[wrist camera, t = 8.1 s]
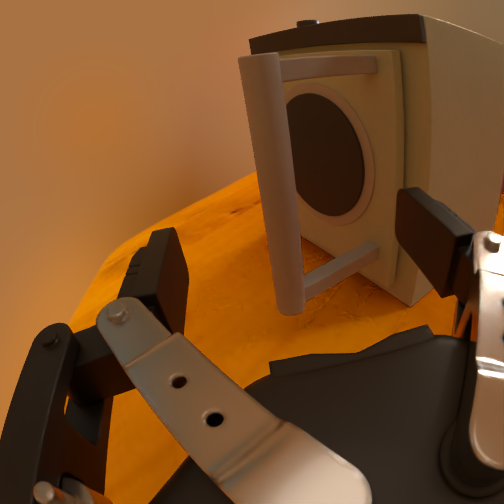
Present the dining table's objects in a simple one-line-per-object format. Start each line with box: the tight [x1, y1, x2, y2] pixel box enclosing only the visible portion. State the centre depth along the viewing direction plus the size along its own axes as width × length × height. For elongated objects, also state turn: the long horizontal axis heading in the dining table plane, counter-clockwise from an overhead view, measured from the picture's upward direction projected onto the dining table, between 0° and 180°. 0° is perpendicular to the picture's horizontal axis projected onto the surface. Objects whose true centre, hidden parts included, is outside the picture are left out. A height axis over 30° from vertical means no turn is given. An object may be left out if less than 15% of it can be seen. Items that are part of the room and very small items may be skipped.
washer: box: [249, 14, 504, 307], centre depth 23 cm, size 16×16×19 cm
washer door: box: [238, 50, 404, 316], centre depth 20 cm, size 14×8×14 cm, turn 30°
